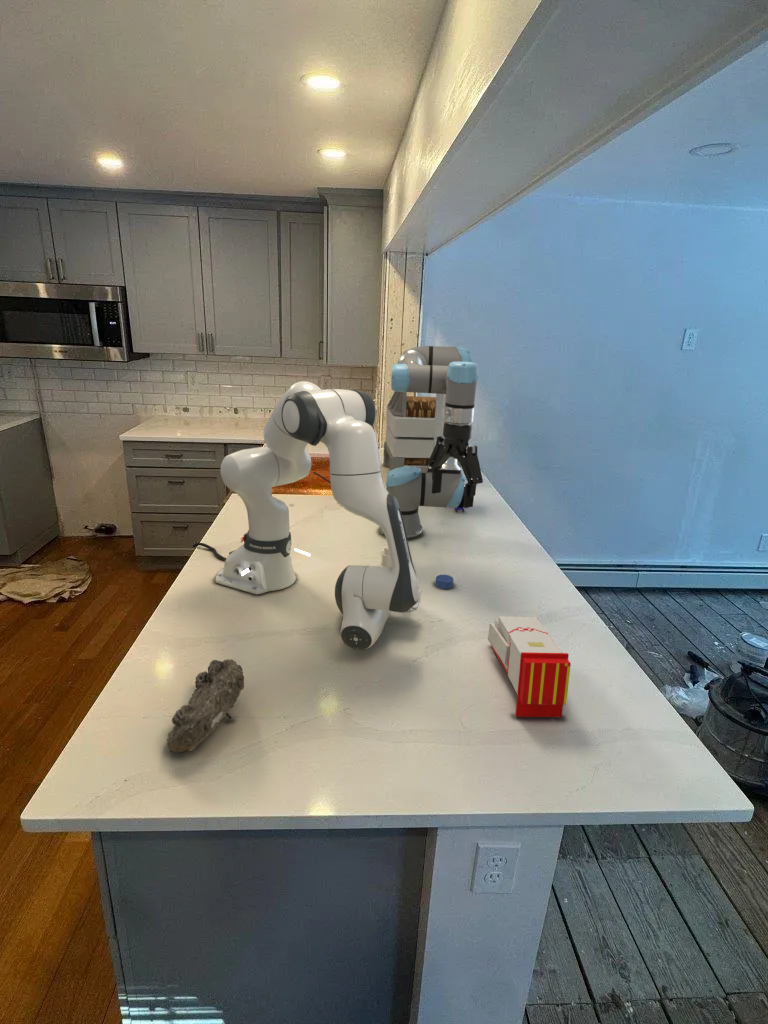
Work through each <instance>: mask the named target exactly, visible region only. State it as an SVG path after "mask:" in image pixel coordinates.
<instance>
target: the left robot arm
mask: <svg viewBox="0 0 768 1024" xmlns="http://www.w3.org/2000/svg"><path fill="white" fill-rule="evenodd" d="M375 421H376V406H375V403H374V400H373V398H372V396H370V394H369V393H367V392H365V391H362V390H359V389H355V388H350V389H349V388H348V389H342V388H327V389H321V388H320V387H319V386H318V385H317V384H315V383H313V382H311V381H308V380H307V381H305V380H300V381H297V382H295V383H294V384H292V385H291V386H290V387H289V388H288V389H287V390H286V391H285V393H284V394H283V395H282V396H281V398H280V399H279V400H278V402H277V403H276V405H275V407H274V409H273V411H272V413H271V415H270V416H269V418H268V420H267V422H266V423H265V426H264V428H263V440H264V443H265V445H263V446H259V447H258V446H257V447H252V448H245V449H241V450H237V451H235V452H232V453H230V454H227V455H226V456H225V457H224V458H223V460H222V461H221V464H220V469H219V470H220V477H221V481H222V482H223V484H224V485H225V487H226V488H227V489H229V490H230V491H232V492H233V493H235V494H236V495H238V496H239V497H240V499H241V500H242V502H243V503H244V506H245V508H246V513H247V521H248V522H247V523H248V530H247V532H245V533H244V534H243V536H242V537H241V538H240V543H243V544H242V545H241V546H239V547H238V548H237V549H234V550H232V551H229V552H228V556H227V557H224V556H222V555H221V554H220V553H218V551H217V550H216V548H215V547H213V546H211V545H209V544H207V543H204V542H196V543H193V545H191V546H192V548H196V547H199V546H200V547H203V548H206V549H209V550H210V551H212V553H213V554H214V556H215V557H217V558H218V559H219V560H222V561H224V564H223V567H222V568H221V569H220V570H219V571H218V572H217V574H215V583H216V584H218V585H223V586H226V587H230V588H233V589H236V590H240V591H243V592H246V593H251V594H253V595H262V594H264V593H267V592H274V591H279V590H283V589H287V588H288V587H290V586H292V585H293V584H294V583H295V582H296V580H297V576H296V574H295V571H294V566H293V562H292V561H293V560H292V555H291V554H292V548H293V547H292V545H293V544H292V533H291V532H290V509H289V507H288V506H287V504H286V502H284V501H282V500H281V499H279V498H276V497H274V496H273V491H272V490H273V488H274V487H275V488H276V487H279V486H284V485H288V484H293V483H295V482H298V481H300V480H302V479H305V478H306V477H308V475H309V474H310V473H311V469H312V457H311V454H310V452H309V451H308V449H307V448H306V447H307V445H308V444H309V445H310V446H313V447H316V446H317V445H318V444H319V443H320V442H321V443H322V444H324V446H325V447H326V448H327V450H328V456H329V479H330V480H329V481H330V482H331V484H330V489H331V493H332V497H333V499H334V500H335V501H336V503H337V504H338V505H339V506H340V507H341V508H343V510H345V511H347V512H349V513H350V514H353V515H356V516H358V517H361V518H364V519H365V520H368V521H370V522H372V523H373V524H375V525H377V526H378V528H379V527H380V528H381V529H382V530H383V532H384V533H385V536H386V537H385V541H386V544H387V545H388V549H389V554H390V558H391V563H392V566H391V567H382V566H381V565H379V566H378V565H375V566H374V565H372V566H371V565H361V564H360V565H357V564H355V565H354V564H353V565H348V566H346V567H345V568H343V570H342V571H341V573H339V575H338V577H337V579H336V581H335V584H334V585H335V586H334V599H335V603H336V606H337V609H338V610H339V612H340V613H341V615H342V622H341V626H340V631H339V633H340V635H339V636H340V639H341V641H342V642H343V644H344V645H346V646H347V647H348V648H349V649H353V650H358V651H365V650H367V649H369V648H371V647H372V646H373V645H374V644H375V643H376V642H377V641H378V639H379V637H380V635H381V634H382V632H383V630H384V628H385V624H386V623H387V621H388V619H389V617H390V615H391V613H392V612H394V613H402V614H404V613H411V612H414V611H417V610H418V608H419V605H420V603H421V601H422V590H421V589H420V583H419V580H418V576H417V572H416V569H415V566H414V562H413V559H412V554H411V550H410V545H409V540H407V535H406V531H405V526H404V522H403V518H402V514H401V510H400V507H399V504H398V501H397V499H396V497H395V496H393V495H391V494H389V492H388V491H387V490H386V485H385V484H384V481H383V478H382V468H381V457H380V449H379V444H378V440H377V435H376V432H375V430H374V428H373V426H374V424H375ZM294 551H295V552H298V553H300V554H303V555H305V556H307V557H311V553H309V552H306V551H305V550H304V551H303V550H300V549H298V548H294Z"/></svg>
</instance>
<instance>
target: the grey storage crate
mask: <svg viewBox="0 0 768 1024" xmlns="http://www.w3.org/2000/svg"><path fill="white" fill-rule="evenodd" d="M407 394H408V392H405V393H402V392H397V391H393V394H392V395H391V398H390V400H389V402H388V404H387V405H386V413H385V414H386V415H385V423H386V428H385V438H384V442H383V466H384V467H388V468H389V472H390V471H391V470H393V469H395V468H399V467H405V466H413V467H428V461H429V459H430V456H431V454H432V452H433V441H434V425H435V408H436V396H415V395H414V396H413V395H412V396H411V395H407ZM457 465H458V466H459V467H460V468H461V469H462V467H461V464H460V462H458V461H457Z"/></svg>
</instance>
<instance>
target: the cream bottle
mask: <svg viewBox="0 0 768 1024" xmlns="http://www.w3.org/2000/svg"><path fill="white" fill-rule="evenodd" d="M382 548H383V550H382V551H381V555H380V557H381V558H380V566H382V567H391V566H392V563H391V558H390V554H389V549H388V545H387V543H386V544H384V545H383V547H382Z"/></svg>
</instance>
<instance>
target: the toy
mask: <svg viewBox="0 0 768 1024" xmlns="http://www.w3.org/2000/svg"><path fill="white" fill-rule="evenodd" d="M488 625H489V627H488V633H487V641H488V642H489V644H490V646H491V647H490V648H491V649H492V650H493V652H494V654H495V656H496V658H497V659H498V660H499V662H500V664H501V666H502V668H503V669H504V671H505V673H506V674H507V676H508V678H509V680H510V682H511V685H512V686H513V689H514V690H515V693H516V704H515V717H516V718H517V717H518V718H519V717H520V718H521V717H522V718H563V710H564V705H567V701H568V692H569V685H570V684H569V683H570V676H571V675H570V674H571V666H572V664H571V661H570V660H569V655H570V654H569V653H568V652H563V651H562V649H561V648H560V647H559V646H558V644H557V643H556V642H555V640H554V639H553V638H552V636H551V635H550V634H549V632H548V631H547V629H546V628H545V627H544V626H543V624H542V622H541V621H540V620H539V619H538V618H537V616H498V618H496V619H494V623H493V622H489V624H488Z"/></svg>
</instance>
